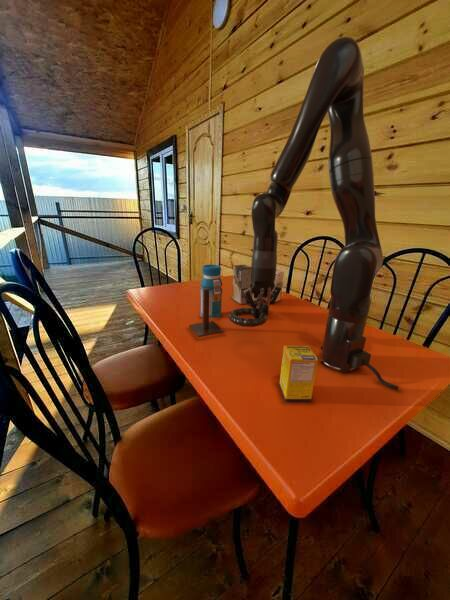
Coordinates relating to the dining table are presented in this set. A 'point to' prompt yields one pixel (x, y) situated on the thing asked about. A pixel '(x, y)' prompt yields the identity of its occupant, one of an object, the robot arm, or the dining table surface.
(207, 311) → the stand
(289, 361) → the supplement box
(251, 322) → the ring
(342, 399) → the dining table surface
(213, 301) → the beverage bottle
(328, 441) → the dining table surface
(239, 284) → the coffee box
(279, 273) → the syrup box
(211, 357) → the dining table surface
